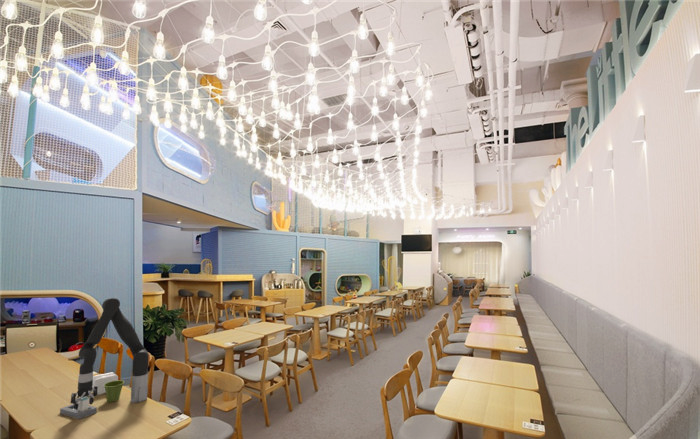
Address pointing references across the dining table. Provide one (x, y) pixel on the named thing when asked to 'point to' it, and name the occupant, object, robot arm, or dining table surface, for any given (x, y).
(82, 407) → the plug peg
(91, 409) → the socket board
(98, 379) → the cable organizer
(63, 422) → the dining table surface
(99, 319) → the robot arm
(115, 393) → the plant pot
